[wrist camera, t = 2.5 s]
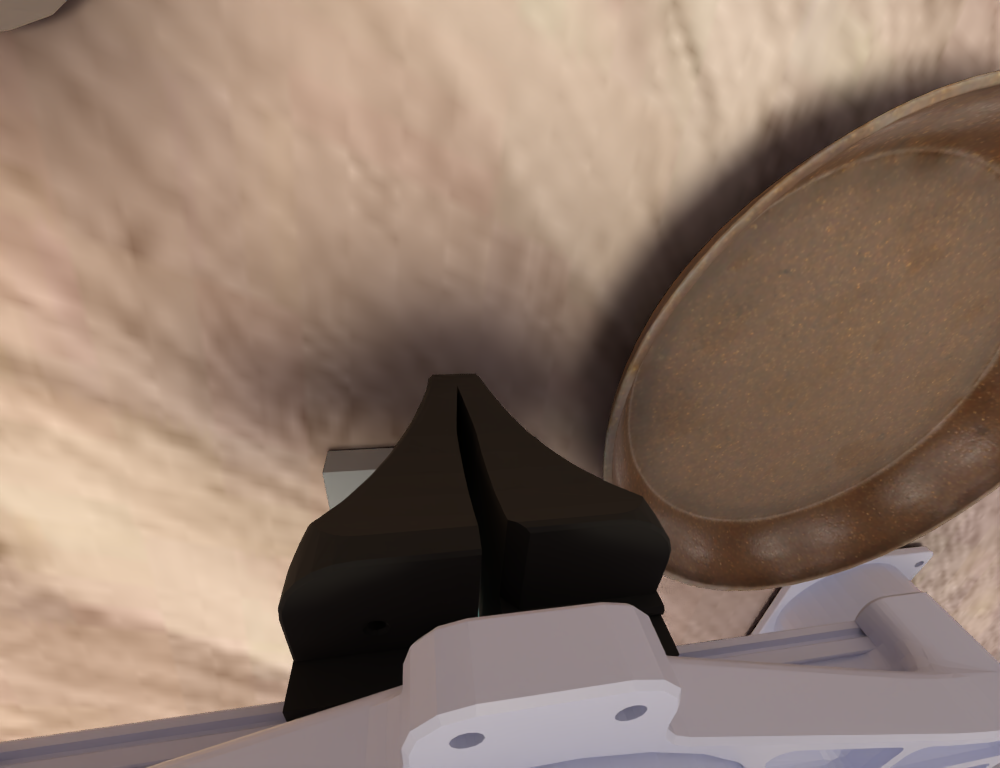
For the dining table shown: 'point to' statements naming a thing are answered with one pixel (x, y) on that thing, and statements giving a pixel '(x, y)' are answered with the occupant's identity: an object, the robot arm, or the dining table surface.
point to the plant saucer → (828, 357)
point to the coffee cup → (25, 12)
